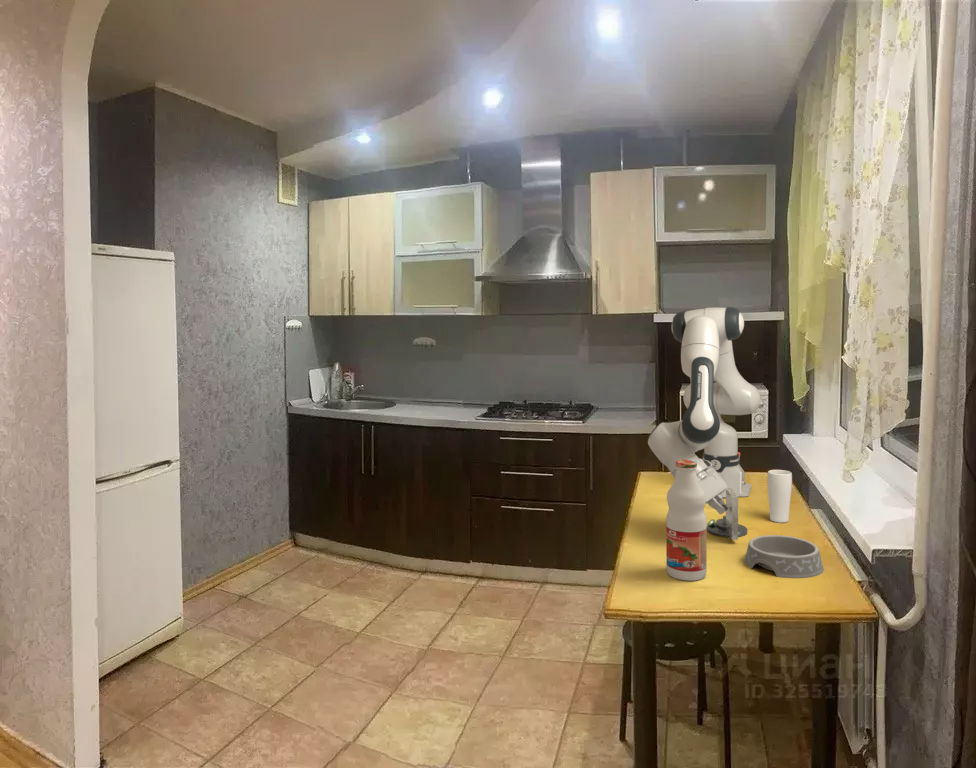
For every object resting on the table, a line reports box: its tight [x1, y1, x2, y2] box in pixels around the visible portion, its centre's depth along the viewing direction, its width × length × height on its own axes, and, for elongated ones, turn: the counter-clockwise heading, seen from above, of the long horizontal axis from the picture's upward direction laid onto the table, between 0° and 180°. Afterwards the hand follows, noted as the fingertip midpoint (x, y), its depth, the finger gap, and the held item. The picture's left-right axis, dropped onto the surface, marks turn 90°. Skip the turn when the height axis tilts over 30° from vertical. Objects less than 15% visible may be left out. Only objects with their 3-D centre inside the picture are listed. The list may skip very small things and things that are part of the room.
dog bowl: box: [743, 534, 824, 579], centre depth 169 cm, size 17×18×5 cm
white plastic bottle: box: [665, 460, 708, 582], centre depth 163 cm, size 9×9×28 cm
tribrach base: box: [707, 519, 748, 538], centre depth 196 cm, size 11×11×2 cm
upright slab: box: [715, 489, 739, 541], centre depth 191 cm, size 14×6×12 cm, turn 171°
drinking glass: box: [767, 469, 793, 524], centre depth 203 cm, size 7×7×15 cm
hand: (724, 511), depth 187 cm, fingers closed
